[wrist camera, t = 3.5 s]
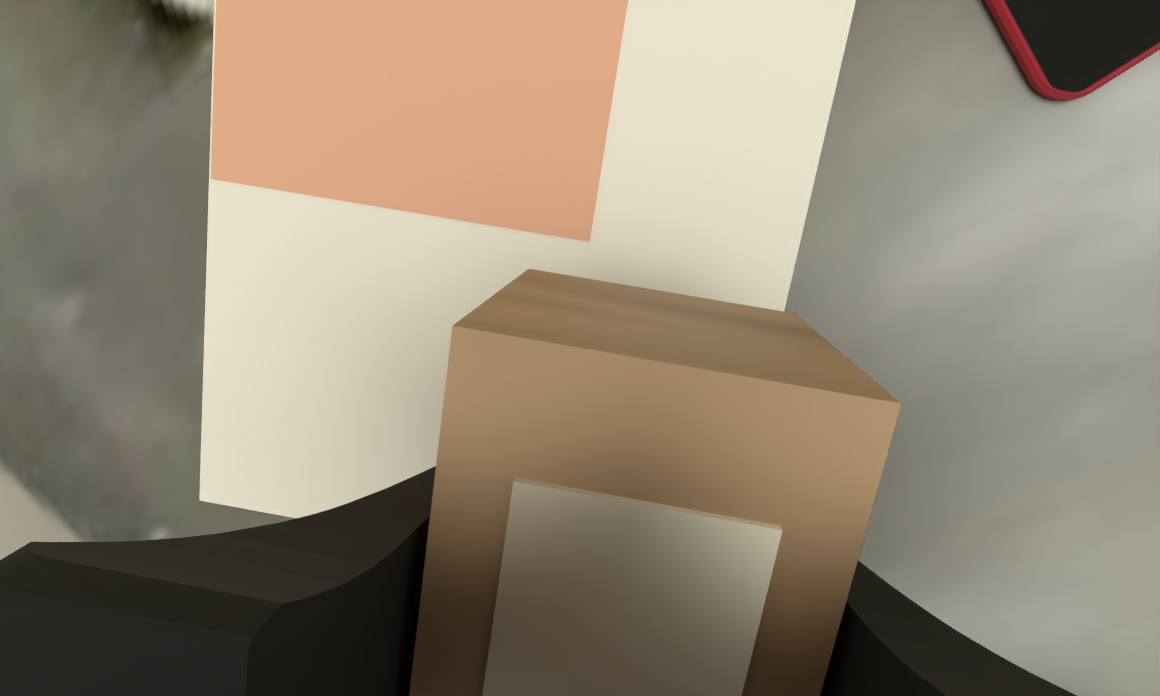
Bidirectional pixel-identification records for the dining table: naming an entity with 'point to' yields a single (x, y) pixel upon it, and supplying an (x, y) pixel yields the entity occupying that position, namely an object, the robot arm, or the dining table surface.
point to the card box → (643, 497)
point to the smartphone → (1077, 40)
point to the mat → (473, 199)
